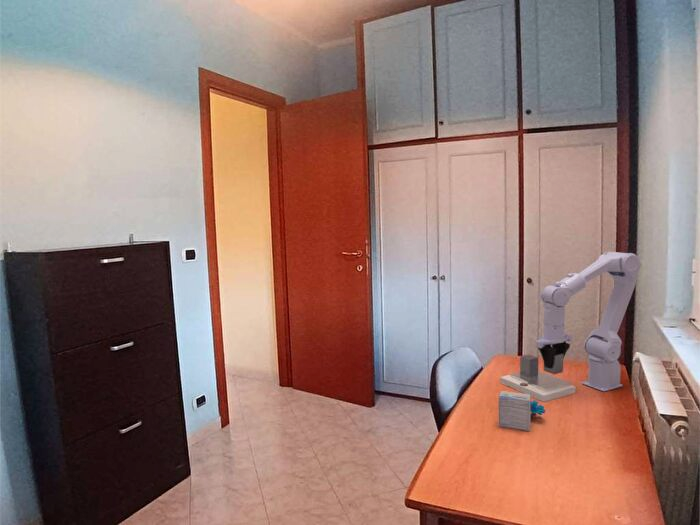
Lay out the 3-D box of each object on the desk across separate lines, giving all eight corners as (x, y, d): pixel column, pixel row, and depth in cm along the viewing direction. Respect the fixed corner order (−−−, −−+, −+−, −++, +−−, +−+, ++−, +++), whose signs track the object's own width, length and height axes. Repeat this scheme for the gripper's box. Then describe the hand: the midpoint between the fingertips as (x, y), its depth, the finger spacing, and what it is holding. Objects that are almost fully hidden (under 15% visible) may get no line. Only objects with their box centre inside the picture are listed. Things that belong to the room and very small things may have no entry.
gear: (552, 413, 127) (535, 394, 122) (546, 433, 124) (528, 414, 120) (517, 405, 136) (500, 388, 131) (510, 424, 133) (492, 406, 129)
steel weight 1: (538, 375, 153) (538, 357, 152) (529, 377, 151) (529, 359, 150) (528, 371, 156) (528, 354, 156) (520, 373, 154) (520, 356, 154)
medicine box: (530, 424, 124) (531, 394, 123) (529, 432, 120) (530, 400, 119) (500, 420, 127) (500, 390, 126) (498, 427, 123) (498, 396, 122)
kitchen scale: (530, 375, 160) (530, 367, 160) (575, 392, 144) (575, 384, 144) (500, 382, 154) (500, 374, 154) (543, 402, 138) (543, 393, 138)
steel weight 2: (562, 372, 144) (563, 353, 143) (554, 374, 142) (554, 355, 141) (552, 368, 147) (552, 350, 147) (543, 370, 145) (543, 352, 145)
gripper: (558, 318, 150) (557, 358, 151) (527, 324, 143) (526, 366, 145) (578, 323, 144) (576, 364, 145) (546, 329, 137) (545, 373, 138)
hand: (553, 366), depth 144 cm, fingers closed on steel weight 2, 4 cm apart
